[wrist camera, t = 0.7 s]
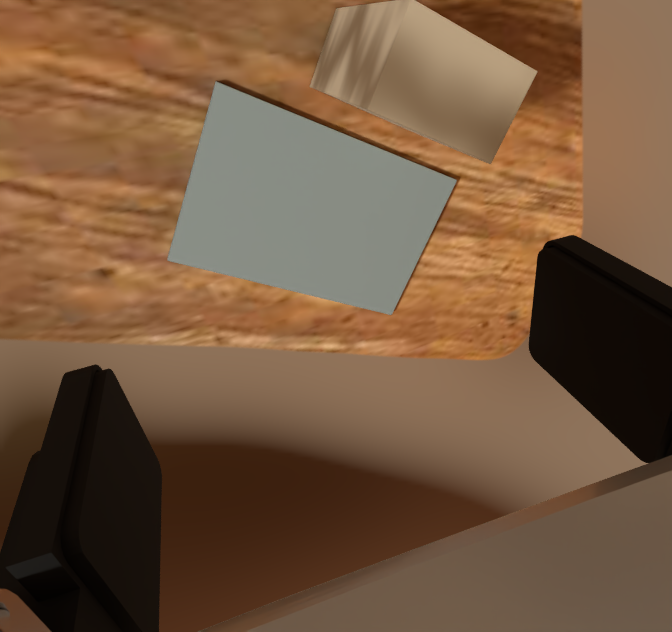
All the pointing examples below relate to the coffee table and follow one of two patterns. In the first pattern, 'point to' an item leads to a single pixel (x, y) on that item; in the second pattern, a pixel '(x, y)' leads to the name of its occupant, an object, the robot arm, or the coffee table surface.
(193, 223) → the grey mat
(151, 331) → the coffee table surface
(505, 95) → the birch block
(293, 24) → the coffee table surface
